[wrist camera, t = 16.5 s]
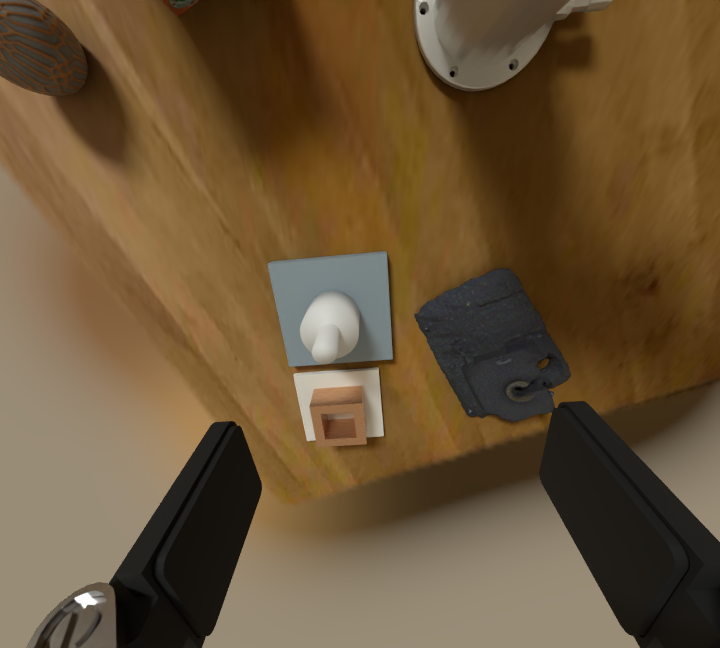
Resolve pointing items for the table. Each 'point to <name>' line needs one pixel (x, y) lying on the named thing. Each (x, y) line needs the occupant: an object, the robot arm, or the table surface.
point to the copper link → (339, 429)
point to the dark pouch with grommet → (493, 347)
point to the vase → (39, 50)
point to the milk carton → (179, 5)
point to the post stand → (334, 308)
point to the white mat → (342, 379)
